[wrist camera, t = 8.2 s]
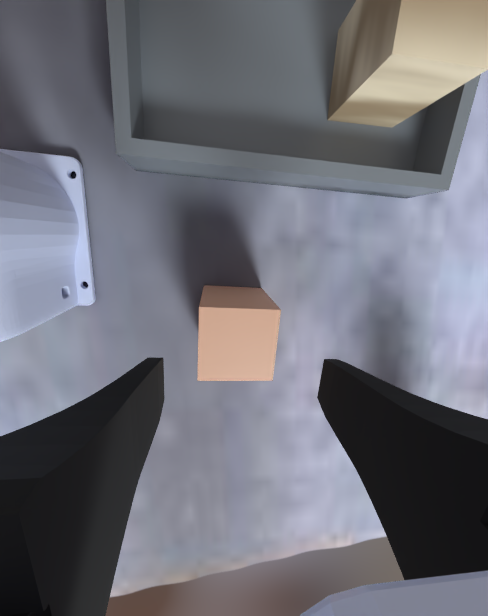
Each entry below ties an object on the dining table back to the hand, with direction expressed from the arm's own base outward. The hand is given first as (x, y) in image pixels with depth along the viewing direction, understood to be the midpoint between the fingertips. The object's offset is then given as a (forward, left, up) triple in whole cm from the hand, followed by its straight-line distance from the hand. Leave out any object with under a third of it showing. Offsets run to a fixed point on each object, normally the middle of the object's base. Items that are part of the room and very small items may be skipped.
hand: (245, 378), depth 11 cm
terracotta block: (0, 0, -9) cm, 9 cm away
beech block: (+16, -7, -8) cm, 19 cm away
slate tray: (+16, -3, -9) cm, 19 cm away
